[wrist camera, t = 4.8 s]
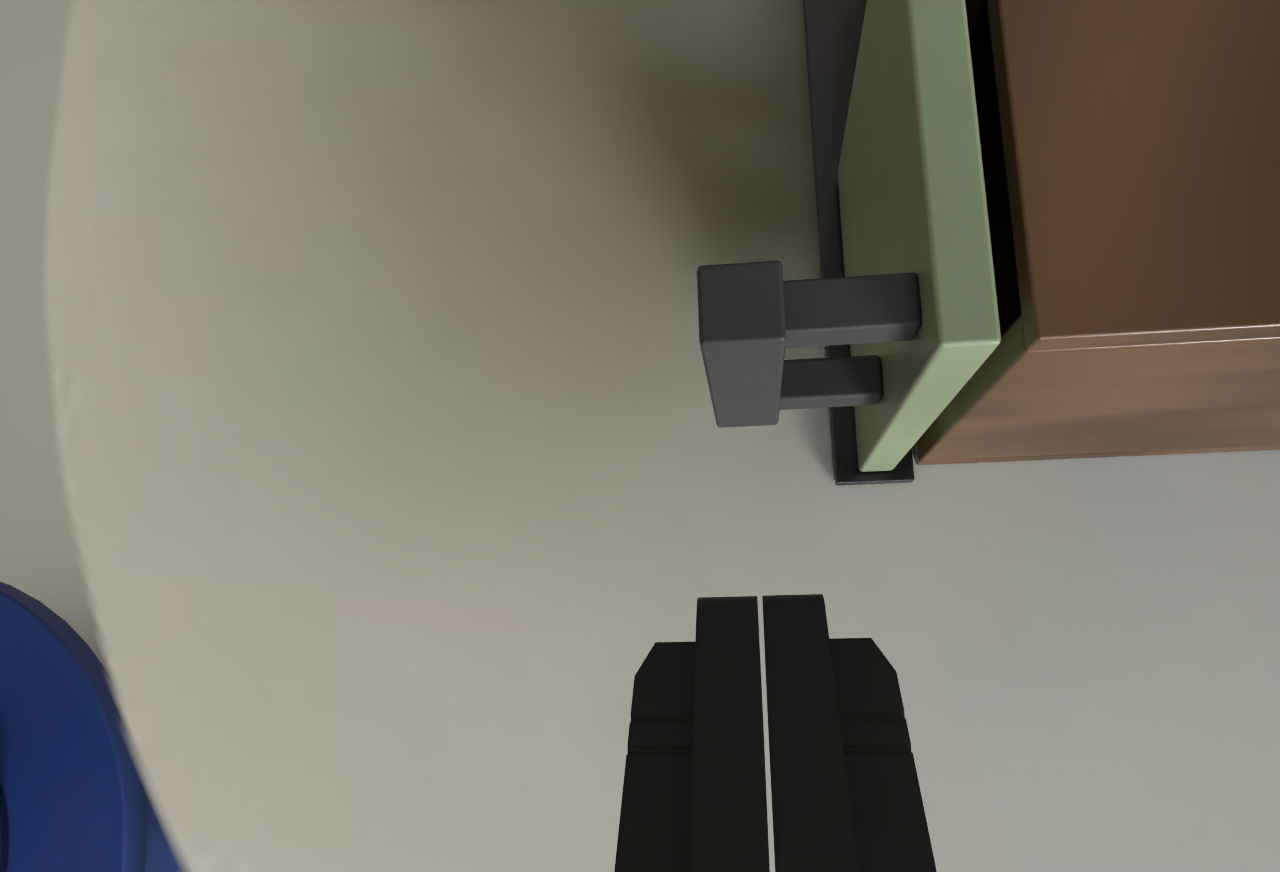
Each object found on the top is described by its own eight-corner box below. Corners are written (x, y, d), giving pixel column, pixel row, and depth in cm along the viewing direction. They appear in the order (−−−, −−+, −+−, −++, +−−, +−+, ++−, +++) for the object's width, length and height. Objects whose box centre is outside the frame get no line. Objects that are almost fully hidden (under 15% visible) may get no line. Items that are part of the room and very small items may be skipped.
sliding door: (725, 478, 22) (697, 361, 12) (712, 180, 24) (679, -131, 14) (893, 470, 22) (1003, 343, 12) (869, 168, 23) (949, -163, 13)
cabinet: (834, 485, 22) (894, 376, 13) (799, -55, 25) (824, -479, 16) (1423, 461, 21) (2004, 317, 11) (1311, -110, 24) (1691, -618, 14)
